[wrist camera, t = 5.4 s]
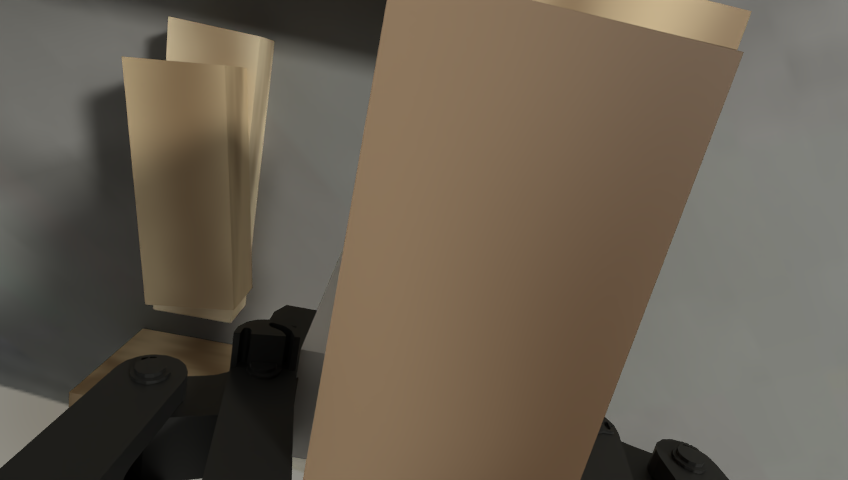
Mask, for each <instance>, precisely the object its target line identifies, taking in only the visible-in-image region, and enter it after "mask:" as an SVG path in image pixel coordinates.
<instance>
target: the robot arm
mask: <svg viewBox="0 0 848 480" xmlns="http://www.w3.org/2000/svg"><path fill="white" fill-rule="evenodd" d="M342 254H343V250H342V252H341V255H340V257H339V260H338V262H337V264H336V267H335V269H334V271H333V274H332V276H331V279H330V281H329V283H328V286H327V288H326V290H325V293H324V295H323V298H322V300H321V302H320V305H319V307H318V310H311V309H306V308H300V307H295V306H289V305H286V306H284V307H282V308H281V309H279V310H277V311H275V312H274V313H273V315H272V317H271V318H270V320H254V321H249V322H246V323H244V324H242V325H240V326H238V327H237V329H236V330H235V332H234V336H233V345H232V354H231V363H230V369H229V371H228V372H225V373H221V374H217V375H207V376H188V370H187V367H186V365H185V364H184V363H183V362H182V361H181V360H179V359H177V358H174V357H171V356H168V355H157V354H151V355H143V356H138V357H135V358H132V359H128V360H126V361H124V362H122V363H121V364H119V365H118V366H116V367H115V368H114V369H113V370H111V371H110V372H109V373H108V374H107V375H106V376H105V377H103V378H102V379H101V380H100V381H99V382H98V383H97V384H96V385H94V386H93V387H92V388H91V389H90V390H89V391H88V392H86V393H85V394H84V395H83V396H82V397H81V398H80V399H79V400H77V401H76V402H75V403H74V404H73V405H72V406H71V407H69V408H68V409H67V410H66V411H65V412H64V413H63V414H62V415H60V416H59V417H58V418H57V419H56V420H55V421H54V422H52V423H51V424H50V425H49V426H48V427H47V428H46V429H45V430H43V431H42V432H41V433H40V434H39V435H38V436H37V437H35V438H34V439H33V440H32V441H31V442H30V443H29V444H27V445H26V446H25V447H24V448H23V449H22V450H21V451H20V452H18V453H17V454H16V455H15V456H14V457H13V458H12V459H10V460H9V461H8V462H7V463H6V464H5V465H4V466H3V467H1V468H0V480H190V479H199V478H202V480H292V457H296V458H303V459H307V454H308V448H309V443H310V437H311V431H312V425H313V420H314V414H315V408H316V403H317V397H318V391H319V385H320V380H321V374H322V368H323V363H324V357H325V351H326V345H327V340H328V334H329V328H330V323H331V317H332V311H333V305H334V300H335V294H336V288H337V283H338V277H339V271H340V265H341V260H342ZM580 480H729V479H728V478H727V477H726V476H725V474H724V473H723V472H722V471H721V470H720V468H719V467H718V466H717V465H716V464H715V463H714V462H713V461H712V460H711V459H710V458H709V457H708V456H706V455H705V454H704V453H702V452H701V451H699V450H698V449H697V448H695V447H693V446H692V445H689V444H687V443H684V442H680V441H676V440H672V439H662V440H661V441H659V442H657V444H656V446H655V449H654V451H653V453H649V452H647V451H644V450H641V449H639V448H636V447H633V446H631V445H628V444H626V443H624V442H621V440H620V437H619V434H618V432H617V430H616V428H615V426H614V425H613V424H612V423H611V422H610V421H609V420H608V419H607V418H605V417H604V419H603V422H602V424H601V427H600V430H599V432H598V435H597V438H596V440H595V443H594V445H593V448H592V451H591V453H590V456H589V458H588V461H587V464H586V466H585V469H584V472H583V474H582V477H581V479H580Z"/></svg>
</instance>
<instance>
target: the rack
mask: <svg viewBox="0 0 848 480" xmlns="http://www.w3.org/2000/svg"><path fill="white" fill-rule="evenodd" d="M533 1H537V2H541V3H545V4H550V5H554V6H558V7H562V8H566V9H570V10H574V11H578V12H582V13H586V14H590V15H594V16H598V17H602V18H607V19H611V20H615V21H619V22H623V23H627V24H631V25H635V26H639V27H643V28H647V29H651V30H655V31H660V32H664V33H668V34H672V35H676V36H680V37H684V38H688V39H692V40H696V41H700V42H704V43H708V44H712V45H717V46H721V47H725V48H729V49H733V50H737V49H738V46H739V44H740V41H741V38H742V36H743V33H744V30H745V28H746V25H747V22H748V20H749V17H750V14H751V12H752V11H748V10H744V9H740V8H736V7H732V6H728V5H724V4H720V3H716V2H711V1H707V0H533ZM151 354H157V355H168V356H171V357H174V358H177V359H179V360H181V361H182V362H183V363H184V364H185V365H186V367H187V370H188V376H207V375H217V374H221V373H225V372H228V371H229V369H230V363H231V354H232V345H231V344H226V343H220V342H215V341H209V340H204V339H198V338H193V337H187V336H182V335H176V334H171V333H165V332H160V331H154V330H149V329H142V330H141V331H139V332H138V333H137V334H136V335H135V336H134V337H133V338H131V339H130V340H129V341H128V342H127V343H126V344H124V345H123V346H122V347H121V348H120V349H119V350H118V351H116V352H115V353H114V354H113V355H112V356H111V357H109V358H108V359H107V360H106V361H105V362H104V363H103V364H101V365H100V366H99V367H98V368H97V369H96V370H94V371H93V372H92V373H91V374H90V375H89V376H88V377H86V378H85V379H84V380H83V381H82V382H81V383H79V384H78V385H77V386H76V387H75V388H74V389H73V390H71V391H70V392H69V407H71V406H72V405H73V404H74V403H75V402H76V401H77V400H79V399H80V398H81V397H82V396H83V395H84V394H85V393H86V392H88V391H89V390H90V389H91V388H92V387H93V386H94V385H96V384H97V383H98V382H99V381H100V380H101V379H102V378H103V377H105V376H106V375H107V374H108V373H109V372H110V371H111V370H113V369H114V368H115V367H116V366H118V365H119V364H121V363H122V362H124V361H126V360H128V359H132V358H135V357H138V356H143V355H151Z"/></svg>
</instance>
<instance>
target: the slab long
mask: <svg viewBox="0 0 848 480" xmlns="http://www.w3.org/2000/svg"><path fill="white" fill-rule="evenodd" d="M273 50H274V41H272V40H269V39H266V38H263V37H260V36H255V35H251V34H246V33H242V32H237V31H233V30H228V29H224V28H219V27H214V26H210V25H205V24H201V23H196V22H192V21H187V20H183V19H178V18H173V17H169V16H168V32H167V51H166V60H167V61H179V62H191V63H202V64H214V65H225V66H234V67H243V68H247V92H248V133H249V174H250V215H251V249H252V240H253V231H254V222H255V213H256V204H257V195H258V186H259V177H260V168H261V159H262V150H263V141H264V132H265V123H266V114H267V105H268V96H269V87H270V78H271V69H272V60H273ZM245 304H246V296H245V297H244V298H243V300H242V301H241V302H240V303H239V305H238V306H237V307H236V308H235V309H234V310H221V309H206V308H191V307H176V306H161V305H153V309H154V310H160V311H165V312H171V313H177V314H182V315H188V316H193V317H199V318H205V319H210V320H216V321H221V322H227V323H231V322H232V321H233V320H234V319H235V317H236V316H237V315H238V314H239V312H240V311H241V310H242V309H243V308H244V306H245Z"/></svg>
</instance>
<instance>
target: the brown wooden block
mask: <svg viewBox="0 0 848 480" xmlns="http://www.w3.org/2000/svg"><path fill="white" fill-rule="evenodd" d="M743 53H744V52H741V51H737V50H733V49H729V48H725V47H721V46H717V45H712V44H708V43H704V42H700V41H696V40H692V39H688V38H684V37H680V36H676V35H672V34H668V33H664V32H660V31H655V30H651V29H647V28H643V27H639V26H635V25H631V24H627V23H623V22H619V21H615V20H611V19H607V18H602V17H598V16H594V15H590V14H586V13H582V12H578V11H574V10H570V9H566V8H562V7H558V6H554V5H550V4H545V3H541V2H537V1H533V0H387V3H386V8H385V14H384V20H383V25H382V31H381V37H380V43H379V48H378V54H377V60H376V65H375V71H374V77H373V83H372V88H371V94H370V100H369V105H368V111H367V117H366V123H365V128H364V134H363V140H362V145H361V151H360V157H359V163H358V168H357V174H356V180H355V185H354V191H353V197H352V203H351V208H350V214H349V220H348V225H347V231H346V237H345V243H344V248H343V254H342V260H341V265H340V271H339V277H338V283H337V288H336V294H335V300H334V305H333V311H332V317H331V323H330V328H329V334H328V340H327V345H326V351H325V357H324V363H323V368H322V374H321V380H320V385H319V391H318V397H317V403H316V408H315V414H314V420H313V425H312V431H311V437H310V443H309V448H308V454H307V460H306V465H305V471H304V477H303V480H580V479H581V477H582V474H583V472H584V469H585V466H586V464H587V461H588V458H589V456H590V453H591V451H592V448H593V445H594V443H595V440H596V438H597V435H598V432H599V430H600V427H601V424H602V422H603V419H604V417H605V414H606V411H607V409H608V406H609V403H610V401H611V398H612V396H613V393H614V390H615V388H616V385H617V383H618V380H619V377H620V375H621V372H622V369H623V367H624V364H625V362H626V359H627V356H628V354H629V351H630V348H631V346H632V343H633V341H634V338H635V335H636V333H637V330H638V328H639V325H640V322H641V320H642V317H643V314H644V312H645V309H646V307H647V304H648V301H649V299H650V296H651V293H652V291H653V288H654V286H655V283H656V280H657V278H658V275H659V273H660V270H661V267H662V265H663V262H664V259H665V257H666V254H667V252H668V249H669V246H670V244H671V241H672V238H673V236H674V233H675V231H676V228H677V225H678V223H679V220H680V218H681V215H682V212H683V210H684V207H685V204H686V202H687V199H688V197H689V194H690V191H691V189H692V186H693V183H694V181H695V178H696V176H697V173H698V170H699V168H700V165H701V163H702V160H703V157H704V155H705V152H706V149H707V147H708V144H709V142H710V139H711V136H712V134H713V131H714V129H715V126H716V123H717V121H718V118H719V115H720V113H721V110H722V108H723V105H724V102H725V100H726V97H727V94H728V92H729V89H730V87H731V84H732V81H733V79H734V76H735V74H736V71H737V68H738V66H739V63H740V60H741V58H742V55H743Z"/></svg>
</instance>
